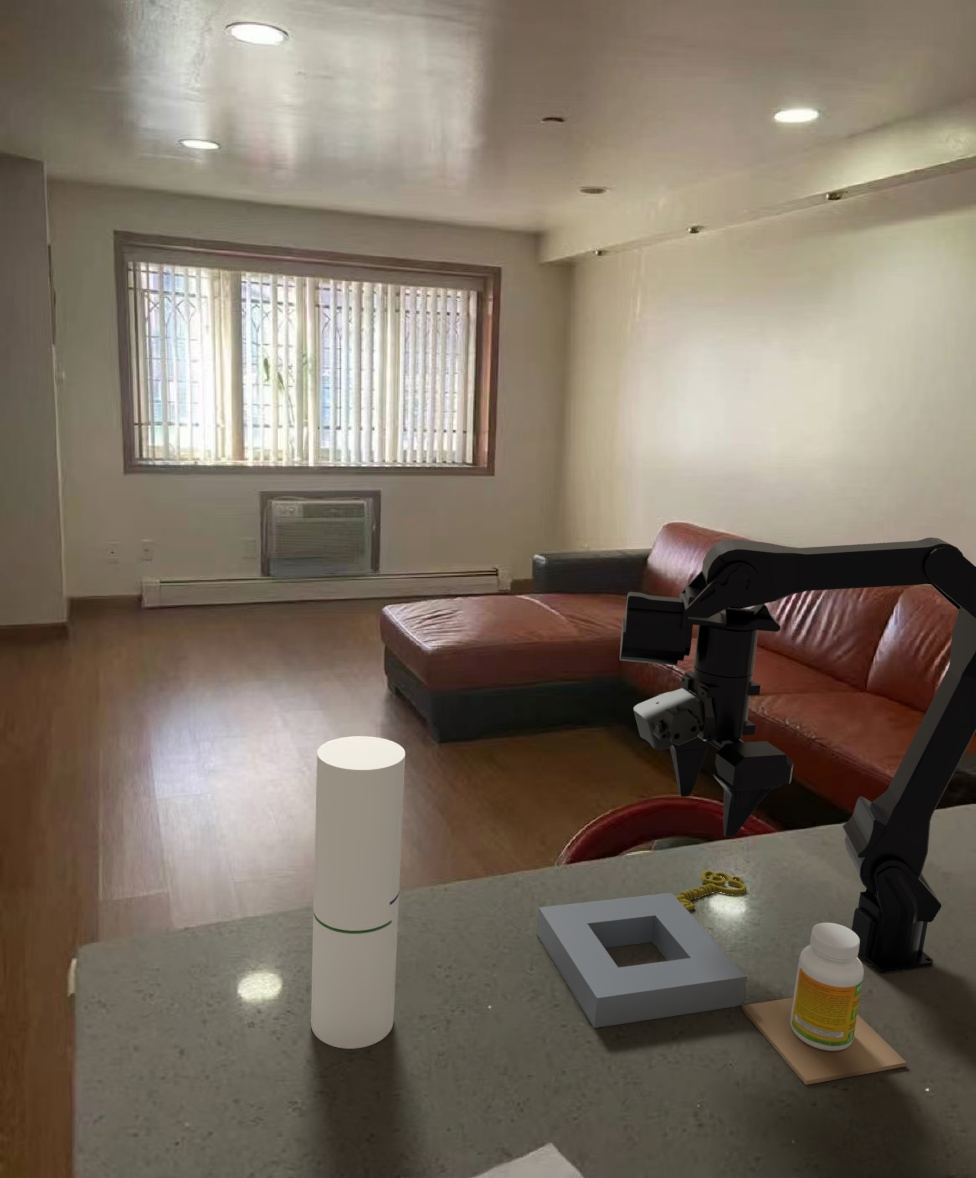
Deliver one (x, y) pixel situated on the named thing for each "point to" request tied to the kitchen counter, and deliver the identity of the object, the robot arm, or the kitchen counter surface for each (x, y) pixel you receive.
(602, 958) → the grey rectangular frame
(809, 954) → the supplement bottle
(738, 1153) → the kitchen counter surface
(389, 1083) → the kitchen counter surface
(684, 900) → the key
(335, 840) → the cylindrical container
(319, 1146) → the kitchen counter surface
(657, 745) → the robot arm
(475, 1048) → the kitchen counter surface
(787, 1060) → the pad
